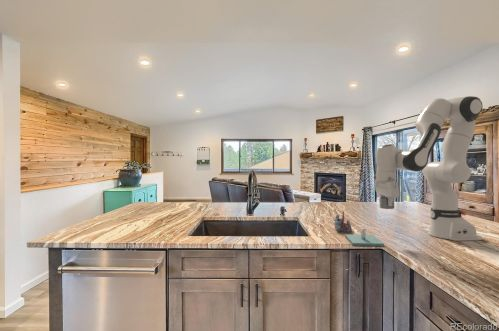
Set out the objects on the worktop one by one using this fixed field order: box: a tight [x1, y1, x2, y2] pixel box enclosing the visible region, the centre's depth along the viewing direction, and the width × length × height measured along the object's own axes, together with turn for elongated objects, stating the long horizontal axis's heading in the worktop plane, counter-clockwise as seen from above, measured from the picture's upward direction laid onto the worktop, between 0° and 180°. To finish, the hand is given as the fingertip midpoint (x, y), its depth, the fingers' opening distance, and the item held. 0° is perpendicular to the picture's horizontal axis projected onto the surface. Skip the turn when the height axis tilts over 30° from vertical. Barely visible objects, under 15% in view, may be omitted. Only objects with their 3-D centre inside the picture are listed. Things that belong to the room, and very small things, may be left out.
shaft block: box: [344, 227, 385, 247], centre depth 128 cm, size 14×14×6 cm
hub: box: [379, 196, 395, 210], centre depth 129 cm, size 6×6×5 cm
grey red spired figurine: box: [333, 211, 352, 233], centre depth 149 cm, size 11×11×12 cm
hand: (386, 204), depth 129 cm, fingers closed on hub, 6 cm apart
